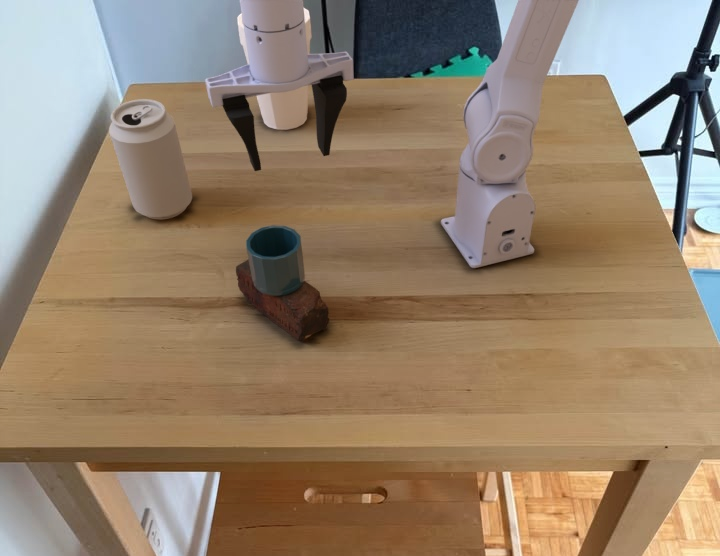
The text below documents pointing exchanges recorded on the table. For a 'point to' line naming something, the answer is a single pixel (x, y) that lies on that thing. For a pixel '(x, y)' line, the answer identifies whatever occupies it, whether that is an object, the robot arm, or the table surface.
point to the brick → (287, 306)
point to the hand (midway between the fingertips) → (290, 158)
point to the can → (150, 158)
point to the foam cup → (282, 93)
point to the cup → (276, 260)
